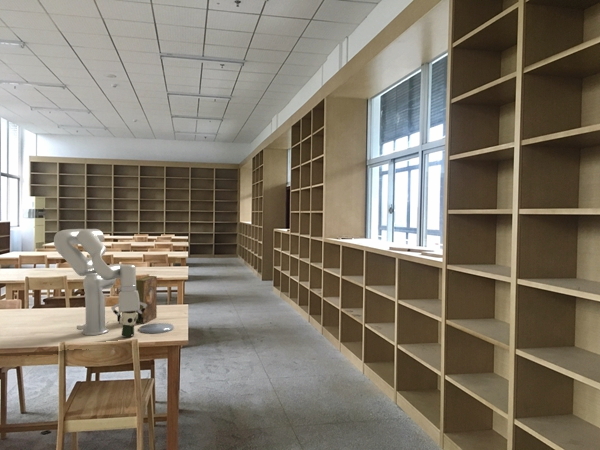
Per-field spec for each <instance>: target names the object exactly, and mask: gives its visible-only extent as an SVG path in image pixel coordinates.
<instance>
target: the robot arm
mask: <svg viewBox="0 0 600 450" xmlns="http://www.w3.org/2000/svg"><path fill="white" fill-rule="evenodd" d="M104 237H105V236H104V233H103V231H102V230H101V229H98V228H72V229H71V228H70V229H63V230H59V231H58V232H56V233H55V234H54V237H53V245H54V248H55V250H56V251H57V253H58V254H59V255H60V256H61V257H62V258H63V259H64V260H65V261H66V263H68V265H69V266H70V267H71V269H73V271H74V272H75V273H76V275H77V276H80V277H84V278H83V282H82V284H83V290H84V299H85V300H84V301H85V302H84V303H85V323H84V324H83V325H80V324H79V325H76V330H79V331H82V332H81V333H82V334H83V335H84V336H99V335H103V334H107V333H108V332H109V328H107V327H106V298H105V294H104V293H103V290H107V289H109V288H110V289H111V288H112V287H114V286H115V285H116V280H117V279H119V280H120V281H119V282H120V286H117V291H119V293H118V301H117V302H118V303H116V304H114V305H112V306H111V307H110V309H111V310H112V311H113V313H114V314H115V315H116V316H117V317H116V318H117V322H118V324H121V323H120V317H122V312H129V311H138V312H139V322H140V321H141V320H142V312H143V311H144V310H145V309H146V306H147V304H145V303H143V302H140V301H139V294H138V291H137V290H136V280H137V274H136V266H135V265H134V264H130V263H129V264H123V263H115V264H109V265H108V264H107V263H106V262H105V260H103V256H104V255H105V253H106V252H107V247H106V246H105V245H104V244H103V242H104V239H105V238H104ZM76 245H80V246H81V247H82V248H83V249H84V250H85V252H86V253H87V254H89V256H90V257H87V256H85V255H84V254H83V252H82V250H80V249H78V248H77V247H76ZM140 305H143V306H144V307H143V309H142V310H141V309H140ZM116 308H118V310H116Z"/></svg>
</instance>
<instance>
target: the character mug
mask: <svg viewBox="0 0 600 450" xmlns="http://www.w3.org/2000/svg"><path fill="white" fill-rule="evenodd" d="M137 318H138V313H136V311H129V312H121V317H120V323H119V324H121V325H122V330H121V336H123V337H124V338H131V337H134V336H135V327H134V325H136V324H137V323H136V319H137Z"/></svg>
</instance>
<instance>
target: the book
mask: <svg viewBox="0 0 600 450" xmlns="http://www.w3.org/2000/svg"><path fill="white" fill-rule="evenodd" d="M157 279H158V278H157V276H156V275H148V276H145V277H141V278H136V290H137V291H138V294H139V301H140V302H143V303H145V304H147V306H146V309H145V310H144V311H143V312H142V320H141V321H140V322H139V312H138V311H136V313H138V318H137V319H136V323H135V324H137V323H138V324H139V323H140V324H148V322H151V321H153V320H155V319H157V317H158V316H157V315H158V312H157V308H158V307H157V300H158V299H157V298H158V297H157V295H158V294H157V293H158V291H157V285H158V284H157V283H158V282H157V281H158V280H157ZM143 307H144V306H143V305H140V309H141V310H142V309H143Z"/></svg>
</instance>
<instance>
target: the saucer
mask: <svg viewBox="0 0 600 450" xmlns="http://www.w3.org/2000/svg"><path fill="white" fill-rule="evenodd" d="M138 329H139V332H140V333H142V334H163V333H168V332H171V331H172V330H174V329H175V328H174V325H173V323H172V324H171V323H167V322H166V323H165V322H157V323H156V322H154V323H146V324H143V325H141V326H140V327H139V328H138Z"/></svg>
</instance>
